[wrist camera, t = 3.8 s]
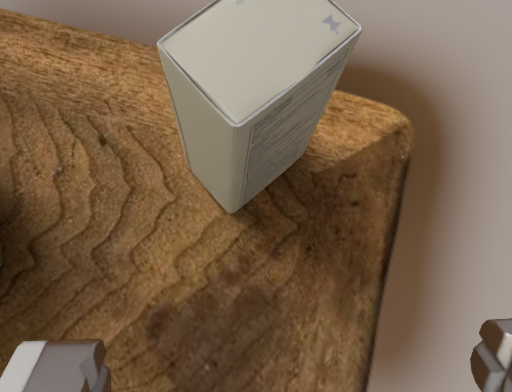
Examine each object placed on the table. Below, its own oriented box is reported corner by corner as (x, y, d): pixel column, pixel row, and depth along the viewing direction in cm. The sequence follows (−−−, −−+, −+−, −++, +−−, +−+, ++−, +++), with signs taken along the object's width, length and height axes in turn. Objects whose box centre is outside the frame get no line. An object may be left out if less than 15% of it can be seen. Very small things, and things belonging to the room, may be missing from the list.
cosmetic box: (258, 108, 27) (285, -53, 16) (306, 157, 27) (370, 24, 15) (181, 168, 26) (148, 36, 14) (230, 221, 25) (237, 129, 13)
